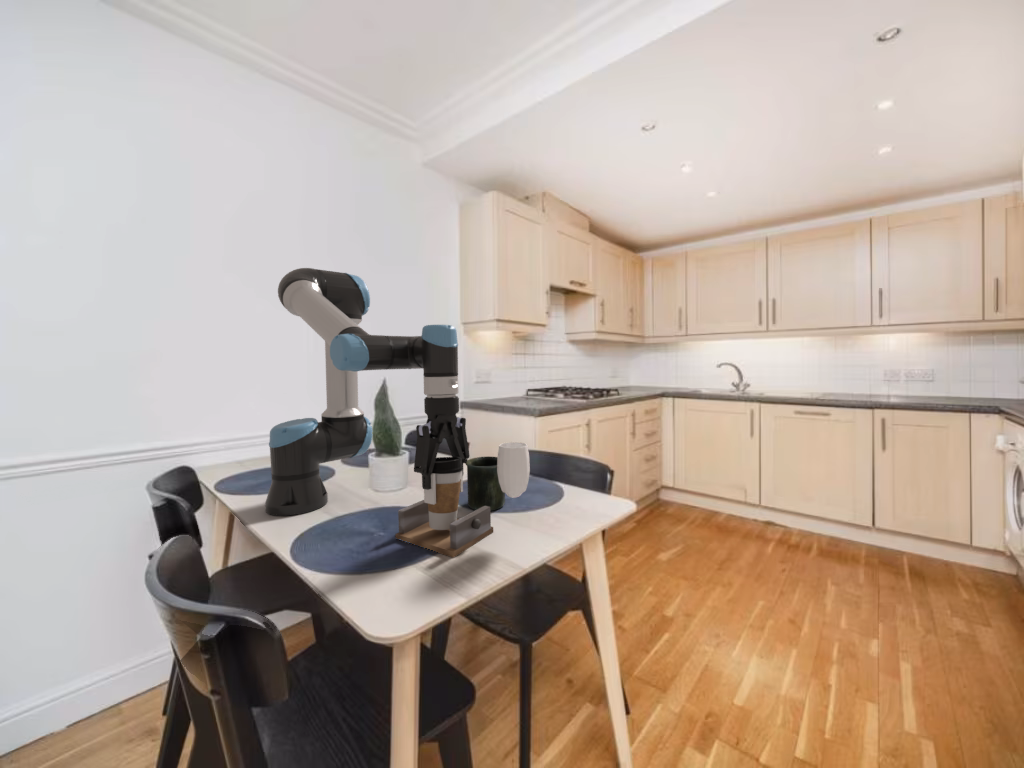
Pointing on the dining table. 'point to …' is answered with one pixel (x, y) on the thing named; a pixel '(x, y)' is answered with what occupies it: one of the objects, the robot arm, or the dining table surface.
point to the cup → (513, 468)
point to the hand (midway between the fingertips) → (444, 496)
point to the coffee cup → (445, 492)
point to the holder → (443, 541)
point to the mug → (484, 483)
